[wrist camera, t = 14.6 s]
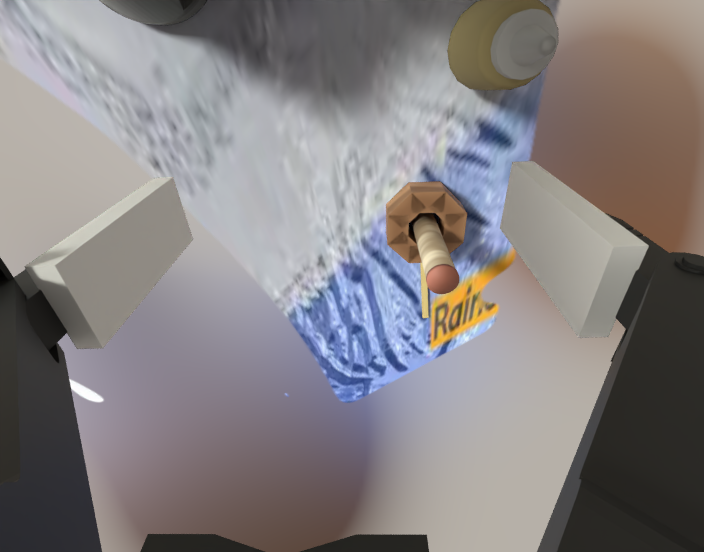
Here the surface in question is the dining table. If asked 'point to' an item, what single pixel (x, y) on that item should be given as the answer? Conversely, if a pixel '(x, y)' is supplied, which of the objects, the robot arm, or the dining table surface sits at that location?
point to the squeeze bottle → (502, 43)
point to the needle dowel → (434, 255)
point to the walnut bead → (423, 201)
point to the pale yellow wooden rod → (424, 293)
